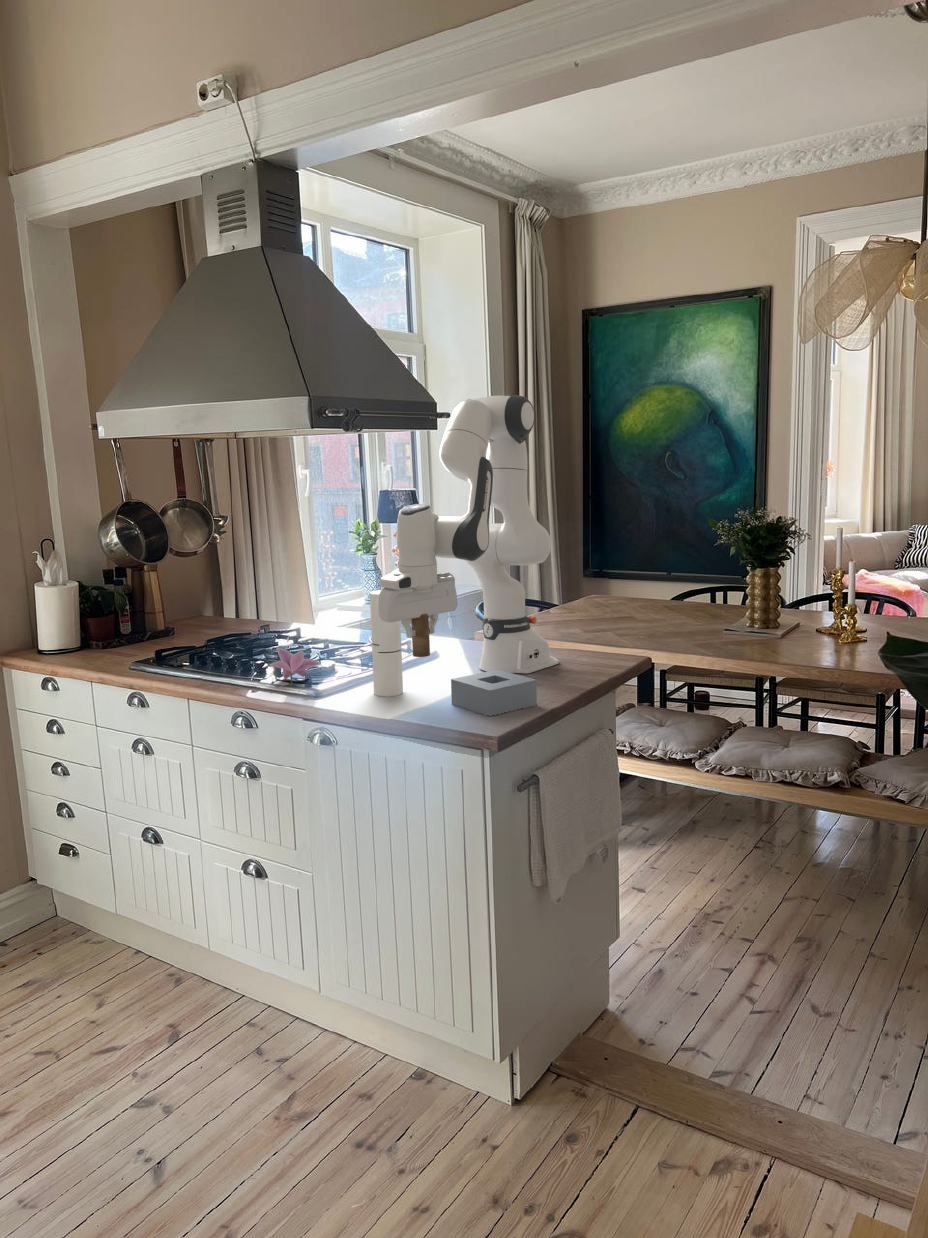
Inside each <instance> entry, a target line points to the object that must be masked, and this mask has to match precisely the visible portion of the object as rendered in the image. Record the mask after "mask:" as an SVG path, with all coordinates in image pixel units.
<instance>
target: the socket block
mask: <svg viewBox="0 0 928 1238" xmlns="http://www.w3.org/2000/svg"><path fill="white" fill-rule="evenodd" d="M450 687H451V688H450V690H451V692H450V693H451V695H450V696H451V705H453V706H456V707H459V708H461V709H462V708H463V709H465V708H466V709H465V710H468V709H469V710H468V711H471V710H473V711H472V712H474V711H476V712H475V713H477V712H479V713H478V714H480V713H483V714H486V715H489V716H491V717H493V716H492V715H495V716H497V715H496V714H499V715H502V714H501V713H503V714H505V713H504V712H507V713H509V712H508V711H511V712H514V711H513V710H515V711H518V710H517V709H519V710H522V709H521V708H523V709H526V708H530V707H535V706H537V705H538V703H537V702H538V700H537V698H538V697H537V696H538V695H537V694H538V693H537V692H538V691H537V690H538V689H537V687H538V685H537V679H535V678H531V677H527V676H525V675H524V676H523V675H520V674H517V673H509V672H505V671H501V670H492V671H483V672H478V673H474V674H470V675H465V676H460V677H455V678H451V679H450ZM483 714H482V715H483ZM486 715H485V716H486ZM489 716H488V717H489Z"/></svg>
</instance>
